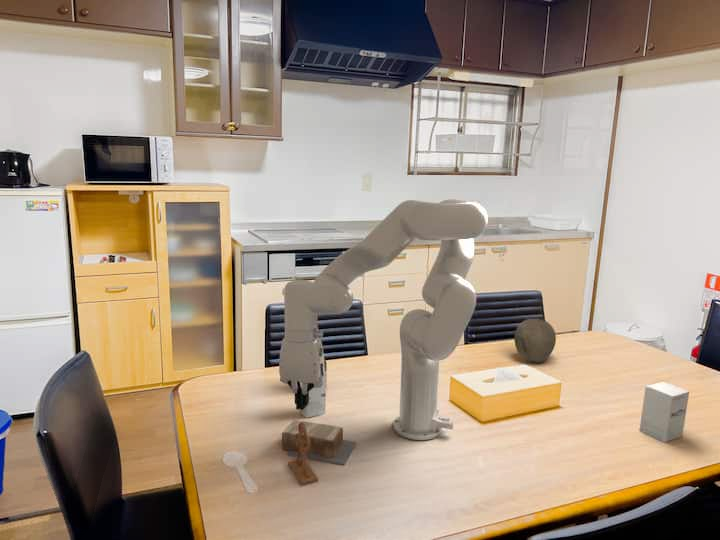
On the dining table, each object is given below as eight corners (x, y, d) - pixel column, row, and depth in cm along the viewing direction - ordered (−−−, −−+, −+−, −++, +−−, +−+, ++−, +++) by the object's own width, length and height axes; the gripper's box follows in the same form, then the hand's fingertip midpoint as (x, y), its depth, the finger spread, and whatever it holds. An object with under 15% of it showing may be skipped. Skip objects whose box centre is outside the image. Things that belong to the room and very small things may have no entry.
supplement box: (665, 443, 131) (672, 396, 129) (638, 430, 138) (644, 385, 135) (683, 437, 134) (690, 391, 132) (656, 424, 141) (662, 380, 138)
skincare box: (306, 418, 140) (306, 376, 138) (299, 412, 144) (298, 370, 142) (326, 413, 144) (326, 371, 141) (318, 406, 147) (318, 366, 145)
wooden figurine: (287, 465, 119) (287, 416, 116) (303, 461, 120) (303, 412, 118) (301, 486, 111) (301, 434, 108) (318, 481, 113) (318, 430, 110)
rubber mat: (356, 443, 128) (356, 441, 128) (344, 465, 119) (344, 463, 119) (303, 434, 132) (303, 433, 132) (287, 455, 123) (287, 453, 122)
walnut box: (293, 434, 131) (342, 443, 128) (281, 448, 124) (333, 458, 121) (293, 418, 130) (343, 426, 127) (281, 432, 124) (333, 441, 120)
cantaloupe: (560, 368, 179) (564, 326, 177) (518, 367, 180) (522, 325, 177) (546, 353, 193) (549, 314, 190) (507, 352, 193) (511, 313, 191)
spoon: (241, 497, 107) (241, 495, 107) (219, 455, 122) (219, 453, 122) (266, 490, 110) (266, 488, 109) (241, 449, 125) (241, 447, 125)
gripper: (336, 332, 123) (336, 404, 126) (278, 326, 127) (279, 396, 130) (326, 342, 116) (325, 419, 119) (264, 335, 120) (266, 409, 123)
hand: (301, 407), depth 125 cm, fingers closed
